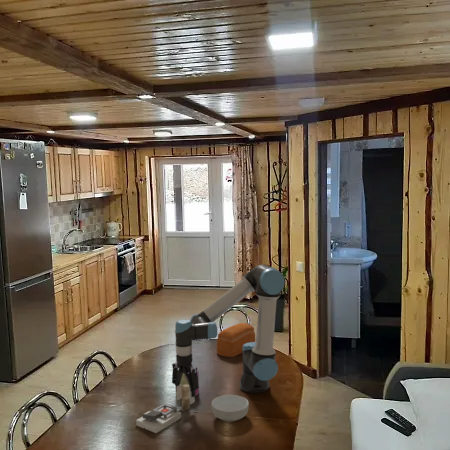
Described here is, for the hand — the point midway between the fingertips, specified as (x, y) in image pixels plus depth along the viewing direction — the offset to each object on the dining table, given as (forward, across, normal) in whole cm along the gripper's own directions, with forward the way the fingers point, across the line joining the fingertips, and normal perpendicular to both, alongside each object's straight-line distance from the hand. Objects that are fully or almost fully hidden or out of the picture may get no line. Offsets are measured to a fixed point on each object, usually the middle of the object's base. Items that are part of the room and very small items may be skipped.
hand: (185, 400), depth 227 cm
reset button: (+2, +2, +12) cm, 12 cm away
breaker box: (+4, +2, +16) cm, 17 cm away
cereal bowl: (+4, -22, -5) cm, 23 cm away
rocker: (-1, +2, +20) cm, 20 cm away
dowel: (+4, 0, 0) cm, 4 cm away
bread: (+4, +25, -78) cm, 81 cm away
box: (+4, +10, -13) cm, 17 cm away
